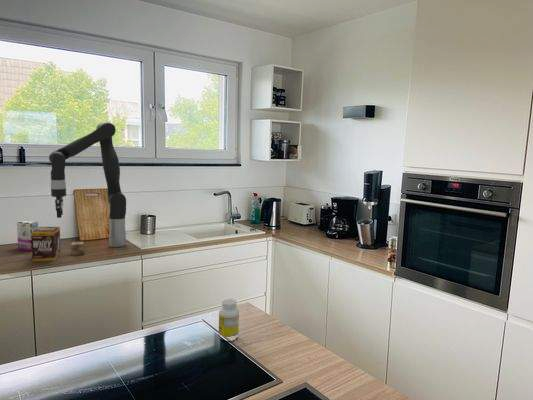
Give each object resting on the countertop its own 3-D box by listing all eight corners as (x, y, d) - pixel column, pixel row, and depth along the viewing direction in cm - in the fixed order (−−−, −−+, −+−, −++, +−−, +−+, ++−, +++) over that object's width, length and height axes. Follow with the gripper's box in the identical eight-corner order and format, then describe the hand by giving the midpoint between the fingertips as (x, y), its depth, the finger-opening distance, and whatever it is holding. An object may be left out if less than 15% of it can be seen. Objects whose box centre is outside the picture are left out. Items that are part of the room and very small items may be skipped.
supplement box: (32, 261, 206) (30, 232, 204) (40, 253, 221) (39, 226, 219) (54, 261, 209) (53, 232, 207) (60, 253, 224) (60, 226, 222)
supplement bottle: (219, 333, 137) (220, 297, 135) (238, 333, 137) (239, 298, 135) (217, 342, 130) (218, 305, 128) (238, 343, 130) (239, 305, 129)
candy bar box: (39, 249, 229) (38, 221, 227) (31, 251, 224) (30, 223, 222) (25, 247, 233) (24, 219, 231) (17, 249, 228) (16, 221, 226)
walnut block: (83, 251, 229) (83, 241, 228) (83, 254, 223) (83, 244, 223) (72, 252, 226) (71, 242, 226) (71, 255, 221) (71, 244, 220)
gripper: (65, 189, 216) (66, 218, 219) (66, 186, 229) (68, 213, 231) (49, 189, 213) (51, 219, 216) (52, 186, 226) (53, 214, 229)
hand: (59, 216), depth 224 cm, fingers open, 8 cm apart
